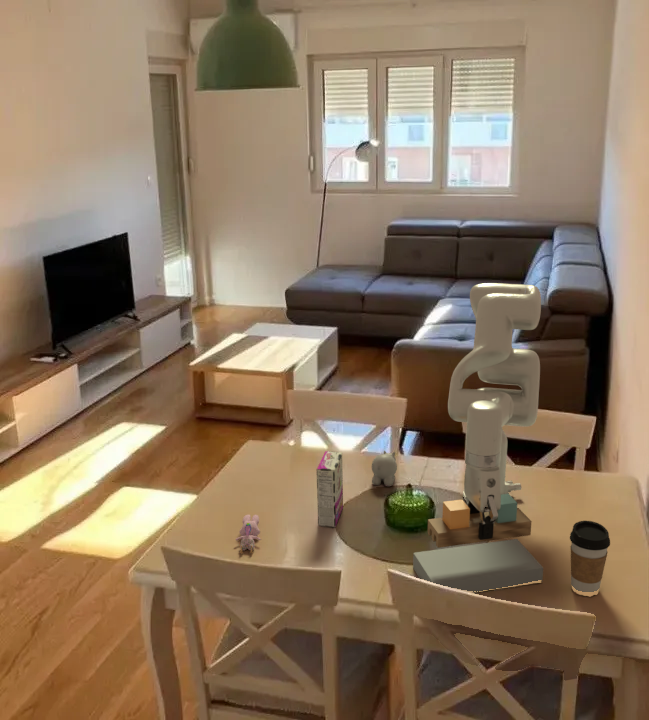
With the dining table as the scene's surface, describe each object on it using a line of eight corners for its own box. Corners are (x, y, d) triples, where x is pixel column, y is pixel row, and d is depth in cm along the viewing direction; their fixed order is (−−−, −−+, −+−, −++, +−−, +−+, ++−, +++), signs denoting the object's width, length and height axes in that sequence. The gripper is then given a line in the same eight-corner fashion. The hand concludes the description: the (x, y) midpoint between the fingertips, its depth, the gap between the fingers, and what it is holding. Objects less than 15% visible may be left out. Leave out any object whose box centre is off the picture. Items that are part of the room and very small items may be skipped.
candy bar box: (325, 506, 215) (324, 450, 210) (343, 507, 214) (343, 451, 209) (316, 526, 205) (315, 468, 200) (335, 528, 204) (335, 469, 199)
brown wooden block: (517, 521, 184) (518, 507, 183) (530, 535, 178) (531, 521, 177) (427, 533, 180) (427, 519, 179) (437, 547, 174) (438, 533, 173)
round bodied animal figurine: (403, 472, 235) (404, 445, 232) (392, 489, 224) (392, 462, 222) (380, 468, 237) (380, 442, 235) (368, 485, 227) (368, 458, 224)
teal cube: (507, 511, 182) (508, 493, 180) (516, 520, 178) (517, 502, 176) (488, 513, 181) (489, 495, 180) (497, 523, 177) (498, 505, 175)
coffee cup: (596, 578, 181) (603, 519, 176) (610, 600, 173) (617, 538, 168) (560, 579, 181) (565, 520, 176) (572, 601, 173) (578, 540, 168)
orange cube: (461, 517, 179) (461, 499, 178) (469, 527, 175) (469, 508, 174) (442, 519, 179) (443, 501, 177) (449, 529, 174) (450, 511, 173)
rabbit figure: (259, 559, 193) (264, 520, 206) (258, 539, 190) (263, 501, 203) (233, 559, 193) (240, 520, 206) (232, 539, 190) (239, 501, 203)
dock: (516, 553, 191) (517, 538, 190) (542, 583, 179) (543, 567, 178) (413, 567, 186) (413, 552, 184) (432, 599, 174) (433, 583, 172)
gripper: (516, 471, 166) (511, 547, 172) (482, 440, 182) (478, 510, 188) (483, 475, 165) (478, 552, 170) (451, 443, 181) (448, 514, 186)
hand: (478, 529), depth 179 cm, fingers closed on brown wooden block, 6 cm apart
